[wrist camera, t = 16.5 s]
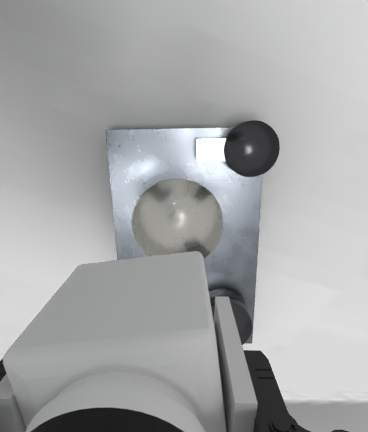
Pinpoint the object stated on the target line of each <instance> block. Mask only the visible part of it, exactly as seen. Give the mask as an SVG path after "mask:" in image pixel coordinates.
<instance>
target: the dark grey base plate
mask: <svg viewBox="0 0 368 432" xmlns="http://www.w3.org/2000/svg"><path fill="white" fill-rule="evenodd" d="M228 129H229V128H181V129H124V130H106V141H107V152H108V163H109V174H110V184H111V195H112V206H113V217H114V228H115V239H116V250H117V260H124V259H133V258H141V257H150V256H158V255H167V254H175V253H184V252H192V251H199V252H200V253H201V254H202V256H203V259H204V266H205V272H206V278H207V284H208V291H211V290H214V289H220V288H224V289H230V290H233V291H235V292H237V293H238V294H239V295H240V296H241V297H242V298H243V300H244V301H245V304H246V307H247V310H248V312H249V315H250V318H251V321H252V333H251V335H250V337H249V339H248V340H247V341H246V342H245V343H252V334H253V318H254V302H255V286H256V270H257V254H258V238H259V222H260V207H261V191H262V175H263V174H262V175H259V176H255V177H245V176H241V175H239V174H237V173H235V172H234V171H233V170H231V169H230V168H229V167H228V166H226V164H225V163H224V162H223V161H196V139H206V138H223V136H224V134H225V133H226V131H227V130H228Z"/></svg>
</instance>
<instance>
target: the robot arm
mask: <svg viewBox="0 0 368 432" xmlns="http://www.w3.org/2000/svg"><path fill="white" fill-rule="evenodd" d="M214 328H215V335H216V343H217V351H218V360H219V369H220V378H221V386H222V395H223V404H224V413H225V422H226V430H227V432H310V431H308V430H306V429H304V428H302V427H301V426H299V425H298V424H297V422H296V421H295V419H293V418H292V417H291V416H290V415H289V413H288V411H287V409H286V406H285V403H284V401H283V398H282V395H281V393H280V390H279V387H278V385H277V382H276V379H275V376H274V374H273V371H272V368H271V366H270V363H269V360H268V359H267V358H266V356H265V355H264V354H263V353H262V352H261V351H247V350H243V347H242V344H241V340H240V336H239V333H238V329H237V325H236V322H235V318H234V314H233V311H232V307H231V303H230V299H229V297H221V296H215V312H214ZM26 429H27V428H26V425H25V422H24V420H23V417H22V414H21V412H20V409H19V406H18V403H17V401H16V398H15V395H14V392H13V390H12V387H11V384H10V381H9V379H8V376H7V373H6V370H5V368H4V365H3V359H2V360H1V361H0V432H25V431H26ZM332 432H348V431H344V430H334V431H332Z"/></svg>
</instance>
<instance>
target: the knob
mask: <svg viewBox="0 0 368 432" xmlns="http://www.w3.org/2000/svg"><path fill="white" fill-rule="evenodd" d="M278 154H279V140H278V137H277V134H276V133H275V131H274V130H273V129H272V128H271V127H270V126H269V125H267V124H266V123H264V122H261V121H247V122H242V123H238V124H236V125H234V126H232V127H231V128H229V129H228V130H227V131H226V133H225V134H224V136H223V138H206V139H196V161H223V162H224V163H225V164H226V166H228V167H229V168H230V169H231V170H233V171H234V172H235V173H237V174H239V175H241V176H245V177H255V176H259V175H262V174H264V173H265V172H267V171H268V170H269V169H270V168H271V167H272V166H273V165H274V163H275V162H276V160H277V157H278Z"/></svg>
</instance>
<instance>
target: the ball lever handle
mask: <svg viewBox="0 0 368 432" xmlns="http://www.w3.org/2000/svg"><path fill="white" fill-rule="evenodd" d="M215 296H221V297H229V299H230V303H231V307H232V311H233V314H234V318H235V322H236V325H237V329H238V333H239V336H240V340H241V344H242V345H243V344H244V343H245V342H246V341H247V340H248V339H249V337H250V335H251V333H252V321H251V318H250V315H249V312H248V310H247V307H246V304H245V301H244V300H243V298H242V297H241V296H240V295H239V294H238V293H237V292H235V291H233V290H230V289H224V288H220V289H214V290H211V291H209V297H210V303H211V309H212V316H213V322H214V312H215Z"/></svg>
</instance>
